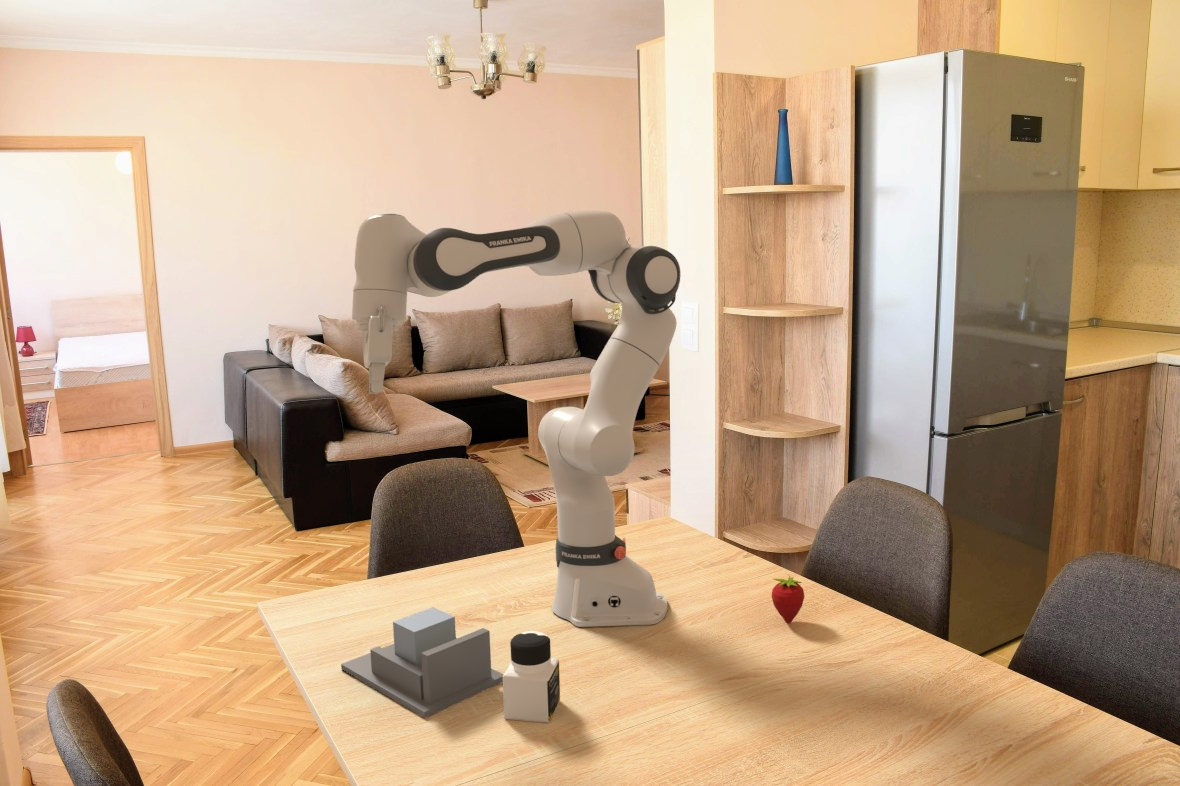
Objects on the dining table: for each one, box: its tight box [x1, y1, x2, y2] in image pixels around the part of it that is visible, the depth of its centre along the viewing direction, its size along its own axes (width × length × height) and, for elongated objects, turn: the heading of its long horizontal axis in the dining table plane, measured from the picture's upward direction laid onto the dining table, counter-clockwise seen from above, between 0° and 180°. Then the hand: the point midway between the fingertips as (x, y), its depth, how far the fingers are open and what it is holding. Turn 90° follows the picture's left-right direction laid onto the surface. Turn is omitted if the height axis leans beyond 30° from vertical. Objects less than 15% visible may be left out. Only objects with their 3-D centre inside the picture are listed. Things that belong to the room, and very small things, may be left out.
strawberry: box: [771, 575, 805, 624], centre depth 170 cm, size 6×8×10 cm
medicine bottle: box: [502, 630, 561, 724], centre depth 140 cm, size 7×7×12 cm
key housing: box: [340, 627, 504, 719], centre depth 152 cm, size 24×16×9 cm, turn 46°
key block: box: [392, 606, 457, 669], centre depth 151 cm, size 6×8×9 cm
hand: (375, 393), depth 153 cm, fingers open, 8 cm apart
